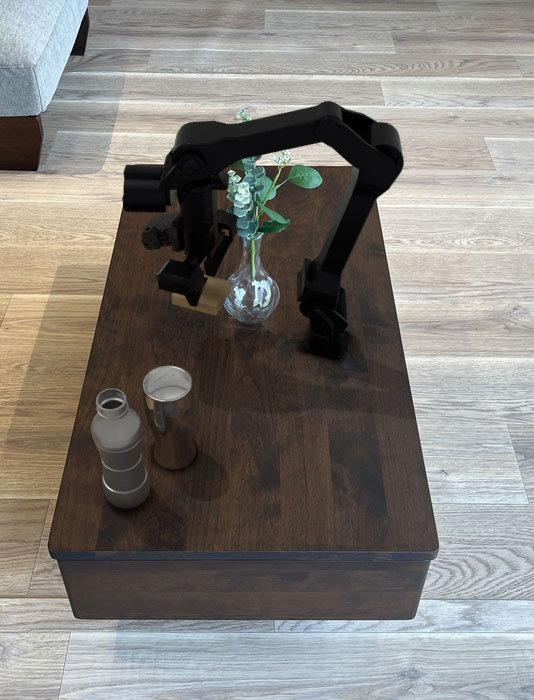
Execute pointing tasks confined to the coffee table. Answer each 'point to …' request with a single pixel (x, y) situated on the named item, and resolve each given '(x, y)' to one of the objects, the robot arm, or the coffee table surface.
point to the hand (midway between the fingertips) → (202, 292)
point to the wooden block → (207, 296)
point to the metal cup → (170, 415)
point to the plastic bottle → (120, 450)
